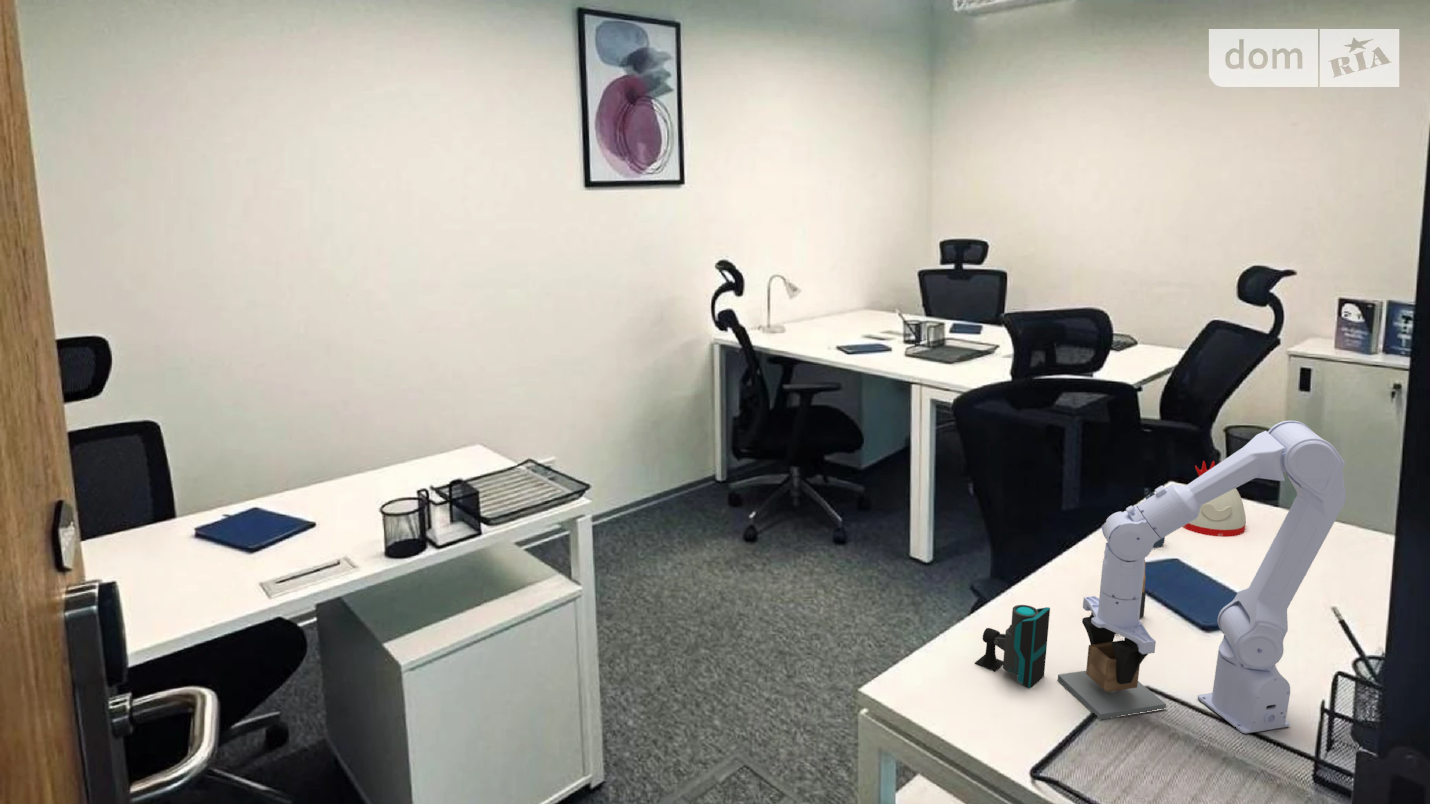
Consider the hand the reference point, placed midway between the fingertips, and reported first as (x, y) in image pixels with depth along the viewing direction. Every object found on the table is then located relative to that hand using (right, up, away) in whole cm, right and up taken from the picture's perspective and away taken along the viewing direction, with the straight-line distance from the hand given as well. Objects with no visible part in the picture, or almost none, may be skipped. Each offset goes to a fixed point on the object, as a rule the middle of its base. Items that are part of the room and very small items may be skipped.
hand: (1112, 672), depth 139 cm
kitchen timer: (+50, +14, +65) cm, 83 cm away
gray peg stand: (0, -4, +1) cm, 4 cm away
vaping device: (+32, +11, +54) cm, 64 cm away
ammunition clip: (+12, +2, +22) cm, 25 cm away
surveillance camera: (-13, -2, +8) cm, 16 cm away
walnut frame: (0, -1, 0) cm, 1 cm away
